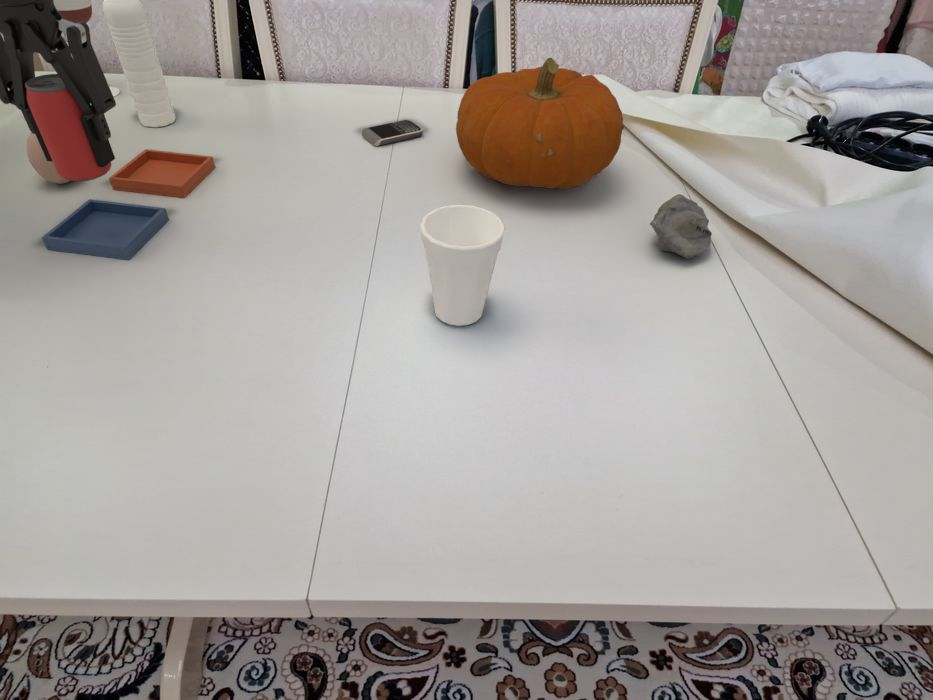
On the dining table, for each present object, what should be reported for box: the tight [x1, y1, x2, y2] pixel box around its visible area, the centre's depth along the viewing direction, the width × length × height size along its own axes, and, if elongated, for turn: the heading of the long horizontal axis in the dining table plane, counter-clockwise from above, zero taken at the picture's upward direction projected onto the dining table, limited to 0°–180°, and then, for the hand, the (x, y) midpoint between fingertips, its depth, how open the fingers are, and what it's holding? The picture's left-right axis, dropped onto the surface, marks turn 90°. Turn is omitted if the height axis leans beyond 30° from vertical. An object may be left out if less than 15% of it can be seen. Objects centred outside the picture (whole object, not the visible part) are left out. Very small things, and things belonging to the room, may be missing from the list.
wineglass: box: [54, 0, 121, 97], centre depth 122 cm, size 9×10×22 cm
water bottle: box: [102, 0, 176, 128], centre depth 112 cm, size 9×6×25 cm
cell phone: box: [361, 119, 424, 147], centre depth 120 cm, size 6×11×1 cm, turn 124°
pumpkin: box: [455, 57, 625, 189], centre depth 104 cm, size 28×28×20 cm
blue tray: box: [41, 198, 170, 261], centre depth 89 cm, size 12×11×2 cm
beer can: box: [25, 73, 112, 182], centre depth 80 cm, size 7×7×12 cm
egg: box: [26, 131, 71, 185], centre depth 98 cm, size 7×7×9 cm
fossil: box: [649, 193, 713, 259], centre depth 92 cm, size 11×9×8 cm
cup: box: [419, 204, 506, 327], centre depth 76 cm, size 10×10×13 cm
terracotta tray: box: [108, 148, 216, 199], centre depth 103 cm, size 12×11×2 cm
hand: (81, 159), depth 82 cm, fingers closed on beer can, 6 cm apart
